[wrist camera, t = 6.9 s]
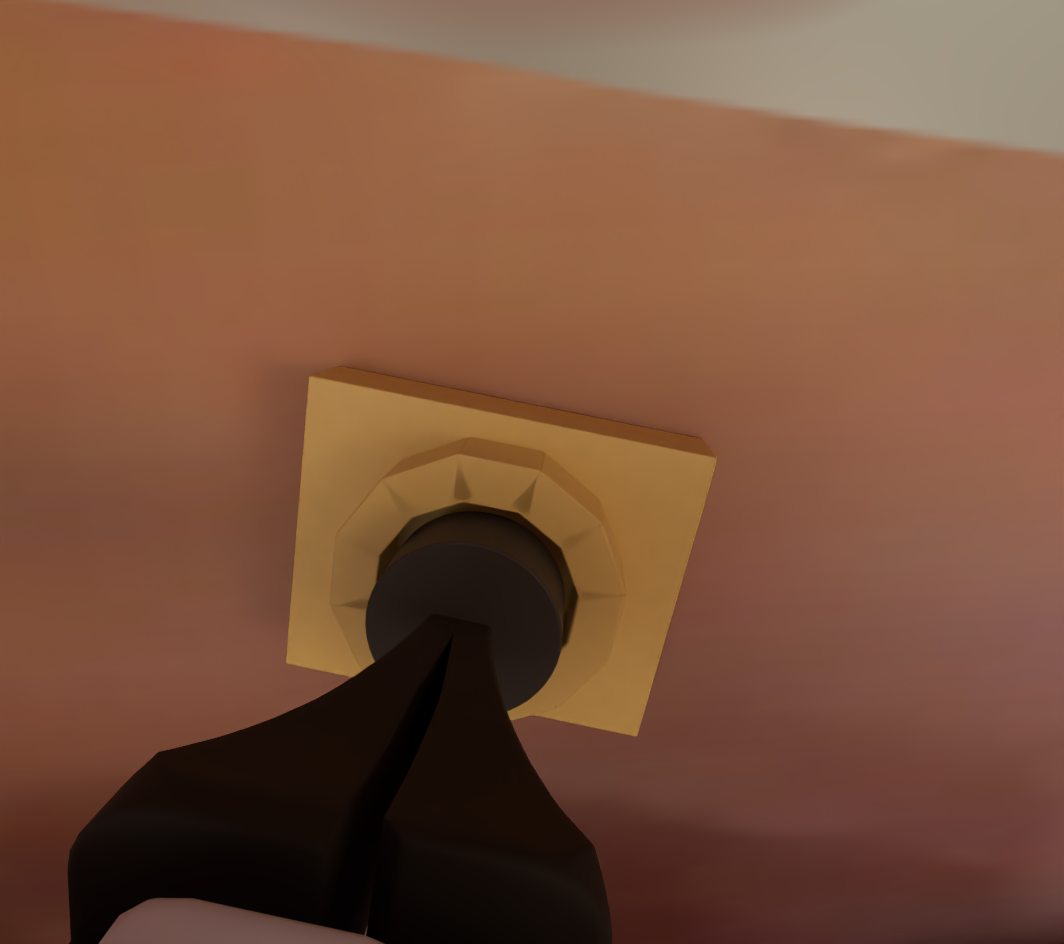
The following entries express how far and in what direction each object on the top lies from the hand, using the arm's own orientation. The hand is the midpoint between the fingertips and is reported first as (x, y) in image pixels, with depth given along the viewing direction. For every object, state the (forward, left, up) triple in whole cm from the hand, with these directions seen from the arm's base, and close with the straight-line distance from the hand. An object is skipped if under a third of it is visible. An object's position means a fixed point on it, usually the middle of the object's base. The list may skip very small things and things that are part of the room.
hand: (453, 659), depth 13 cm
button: (0, 0, -3) cm, 3 cm away
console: (0, 0, -7) cm, 7 cm away
